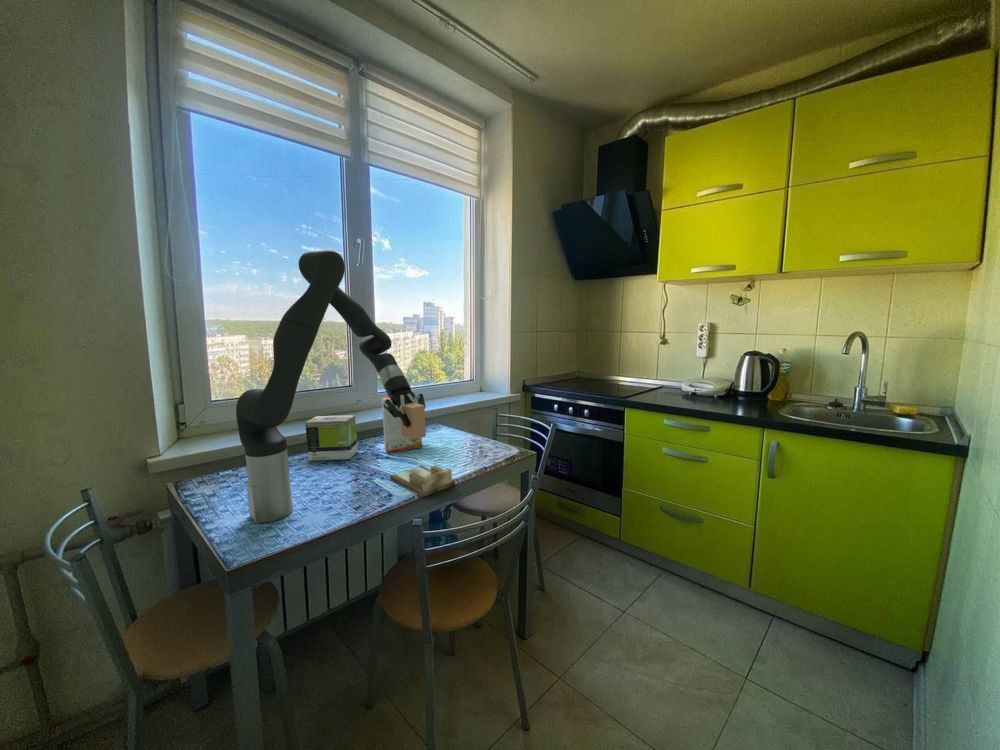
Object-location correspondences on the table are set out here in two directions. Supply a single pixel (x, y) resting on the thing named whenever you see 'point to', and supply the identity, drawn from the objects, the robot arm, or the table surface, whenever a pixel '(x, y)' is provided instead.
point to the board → (424, 479)
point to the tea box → (331, 437)
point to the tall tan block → (414, 421)
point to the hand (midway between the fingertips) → (416, 424)
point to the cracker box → (396, 433)
